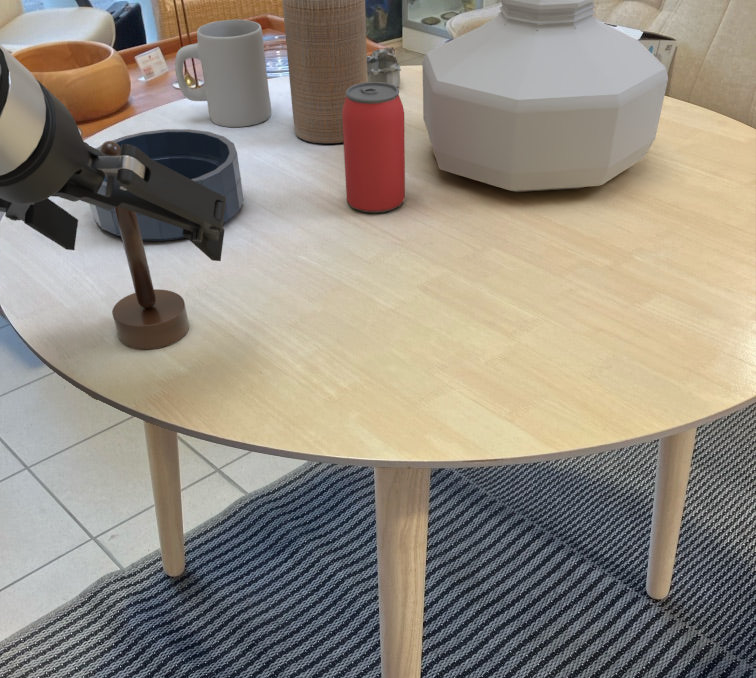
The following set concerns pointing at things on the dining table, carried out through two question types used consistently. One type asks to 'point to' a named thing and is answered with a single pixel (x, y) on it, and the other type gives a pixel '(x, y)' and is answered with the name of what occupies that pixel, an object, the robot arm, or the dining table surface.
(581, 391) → the dining table surface
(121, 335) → the brown handled stamp
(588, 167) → the pot
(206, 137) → the bowl
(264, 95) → the mug
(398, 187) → the beer can
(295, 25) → the vase
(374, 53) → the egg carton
